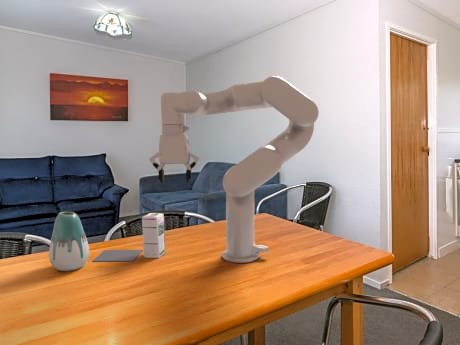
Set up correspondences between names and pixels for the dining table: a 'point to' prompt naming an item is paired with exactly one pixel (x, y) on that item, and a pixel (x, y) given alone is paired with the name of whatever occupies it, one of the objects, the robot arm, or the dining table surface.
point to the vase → (68, 243)
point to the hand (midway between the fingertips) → (175, 181)
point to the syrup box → (153, 235)
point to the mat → (118, 256)
